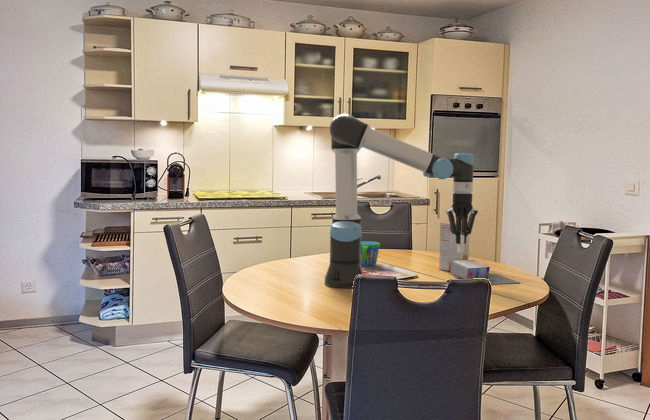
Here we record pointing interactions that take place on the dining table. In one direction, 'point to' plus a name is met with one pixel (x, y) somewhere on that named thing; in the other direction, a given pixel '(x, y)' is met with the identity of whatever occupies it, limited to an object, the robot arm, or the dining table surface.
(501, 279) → the mat
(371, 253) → the snack cup
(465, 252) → the cracker box
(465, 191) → the robot arm
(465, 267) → the ink cartridge box
